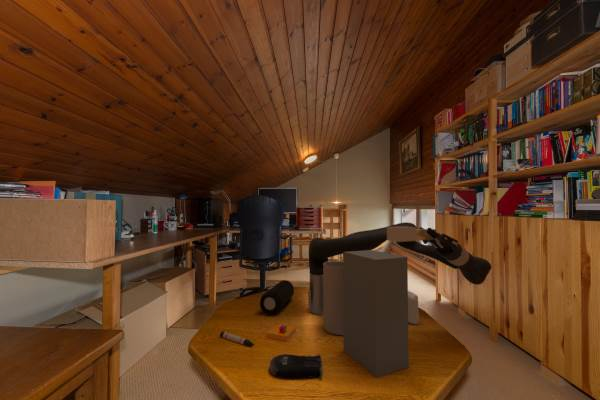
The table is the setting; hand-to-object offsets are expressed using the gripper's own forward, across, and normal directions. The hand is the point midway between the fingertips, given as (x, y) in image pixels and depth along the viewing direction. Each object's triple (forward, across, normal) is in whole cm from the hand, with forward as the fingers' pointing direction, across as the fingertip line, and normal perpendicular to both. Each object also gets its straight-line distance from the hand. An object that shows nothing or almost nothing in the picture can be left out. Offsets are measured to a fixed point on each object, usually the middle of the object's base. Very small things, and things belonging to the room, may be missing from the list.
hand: (424, 229), depth 94 cm
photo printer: (-28, -18, +30) cm, 44 cm away
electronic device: (+21, -4, +58) cm, 62 cm away
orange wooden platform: (+18, -26, +56) cm, 65 cm away
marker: (+31, -28, +64) cm, 77 cm away
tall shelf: (0, 0, +45) cm, 45 cm away
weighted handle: (+3, 0, +6) cm, 7 cm away
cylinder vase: (-2, -22, +45) cm, 50 cm away
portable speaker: (+10, -55, +51) cm, 76 cm away
